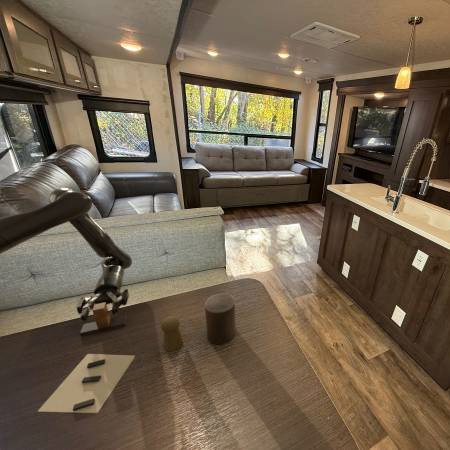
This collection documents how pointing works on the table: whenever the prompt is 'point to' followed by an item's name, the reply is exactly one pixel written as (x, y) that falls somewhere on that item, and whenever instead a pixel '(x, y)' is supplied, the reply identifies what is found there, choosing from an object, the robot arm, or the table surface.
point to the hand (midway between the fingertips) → (99, 315)
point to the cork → (171, 334)
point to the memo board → (88, 384)
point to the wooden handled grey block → (102, 321)
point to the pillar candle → (220, 318)
